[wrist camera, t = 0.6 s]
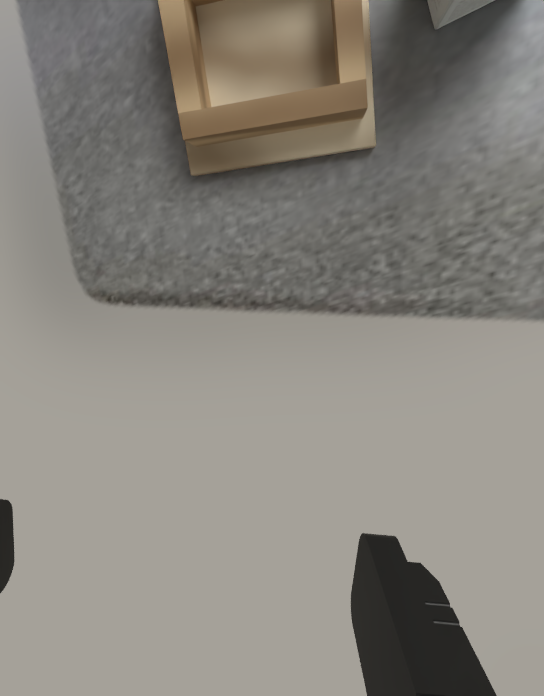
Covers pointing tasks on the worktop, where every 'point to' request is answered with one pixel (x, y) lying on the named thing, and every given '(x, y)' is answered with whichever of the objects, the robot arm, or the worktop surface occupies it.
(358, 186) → the worktop surface
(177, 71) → the socket holder
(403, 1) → the worktop surface
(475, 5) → the skincare box
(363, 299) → the worktop surface
